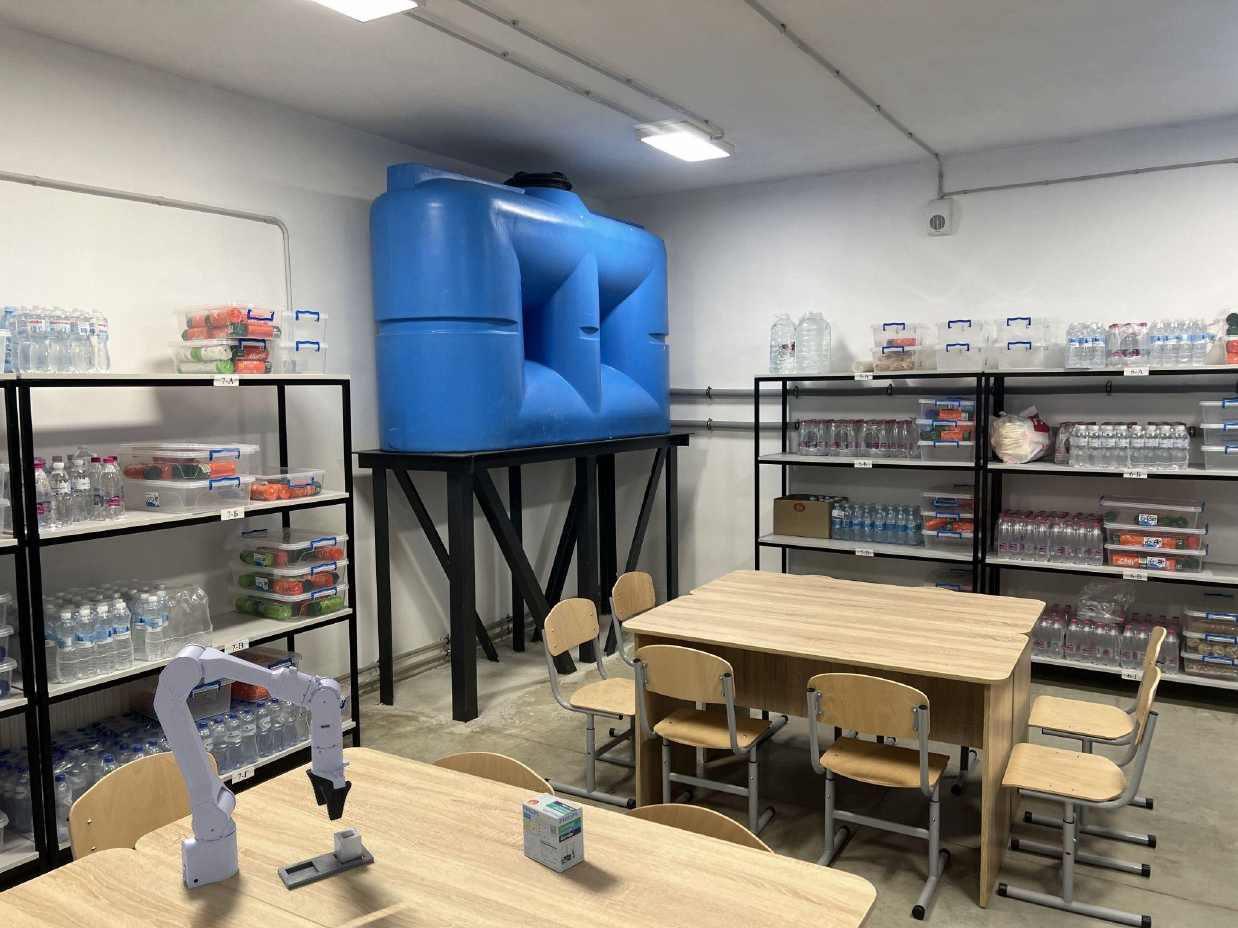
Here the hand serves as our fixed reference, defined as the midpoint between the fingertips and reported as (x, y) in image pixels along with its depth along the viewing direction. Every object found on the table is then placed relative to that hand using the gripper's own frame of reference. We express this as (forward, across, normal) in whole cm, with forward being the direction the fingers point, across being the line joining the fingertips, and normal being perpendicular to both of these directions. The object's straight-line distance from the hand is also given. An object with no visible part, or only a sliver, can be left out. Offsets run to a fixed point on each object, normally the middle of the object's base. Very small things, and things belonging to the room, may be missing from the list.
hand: (329, 811), depth 174 cm
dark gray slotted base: (+10, -4, +2) cm, 11 cm away
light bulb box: (+10, -25, -35) cm, 44 cm away
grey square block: (+9, -4, -2) cm, 10 cm away
